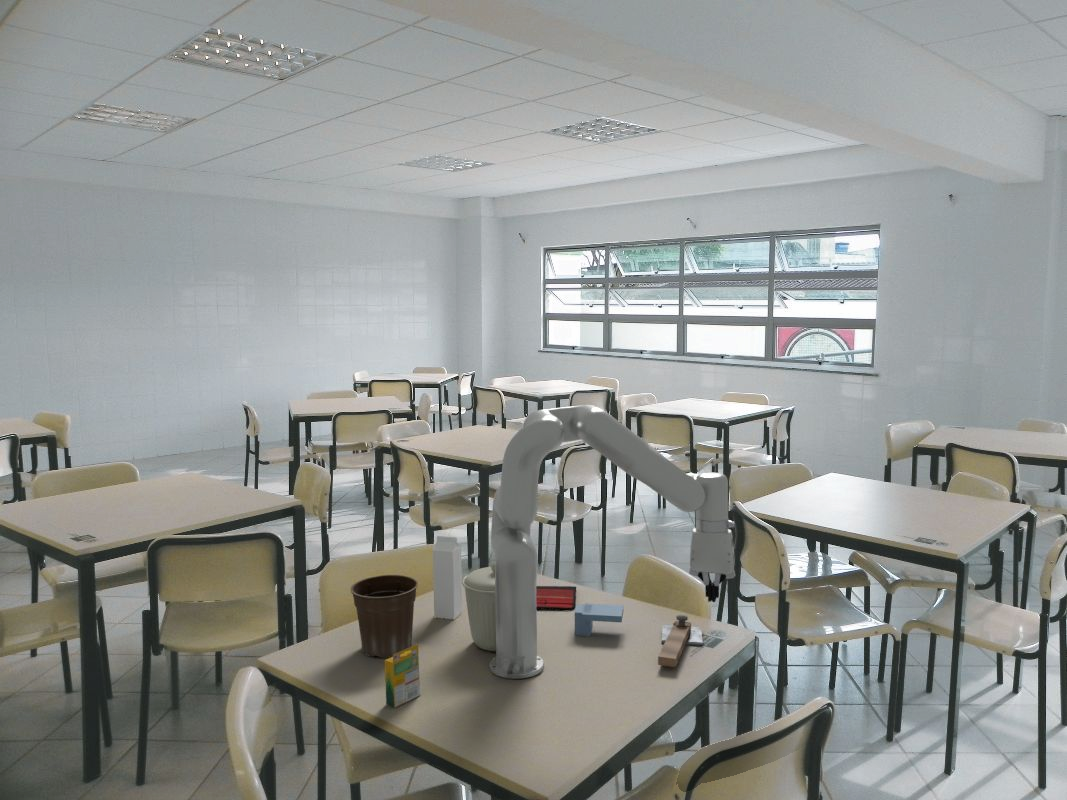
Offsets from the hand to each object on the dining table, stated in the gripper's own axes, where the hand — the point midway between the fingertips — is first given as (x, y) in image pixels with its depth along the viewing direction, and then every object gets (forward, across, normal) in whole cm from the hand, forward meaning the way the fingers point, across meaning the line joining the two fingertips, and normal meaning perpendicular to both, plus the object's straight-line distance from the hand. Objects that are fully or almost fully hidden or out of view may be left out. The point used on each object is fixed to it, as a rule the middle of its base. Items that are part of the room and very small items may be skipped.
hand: (712, 599), depth 190 cm
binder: (+13, +52, -21) cm, 58 cm away
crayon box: (+12, +59, +45) cm, 75 cm away
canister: (+12, +51, +11) cm, 54 cm away
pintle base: (+13, +9, -8) cm, 18 cm away
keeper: (+13, +29, -4) cm, 32 cm away
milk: (+12, +72, -3) cm, 73 cm away
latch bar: (+12, +9, +2) cm, 15 cm away
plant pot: (+12, +76, +22) cm, 81 cm away
